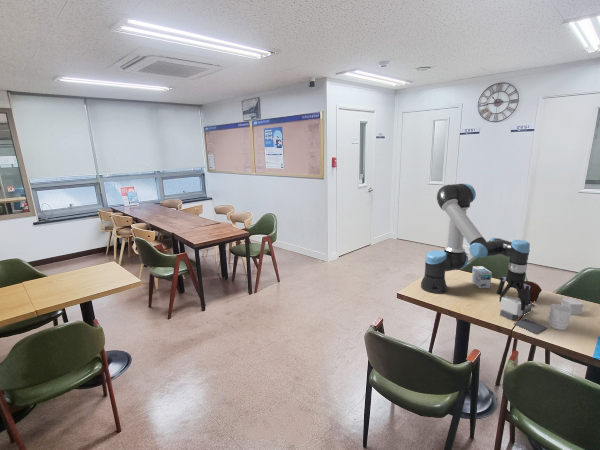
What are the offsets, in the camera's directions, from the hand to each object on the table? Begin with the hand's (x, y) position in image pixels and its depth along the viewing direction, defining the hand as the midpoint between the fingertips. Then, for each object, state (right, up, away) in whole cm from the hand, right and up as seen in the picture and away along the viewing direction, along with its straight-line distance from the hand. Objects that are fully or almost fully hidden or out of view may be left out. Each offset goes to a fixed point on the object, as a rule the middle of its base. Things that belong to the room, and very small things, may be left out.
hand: (510, 311), depth 165 cm
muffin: (+22, +2, +19) cm, 29 cm away
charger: (0, -1, 0) cm, 1 cm away
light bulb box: (+6, +7, +38) cm, 39 cm away
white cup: (+16, -5, -10) cm, 20 cm away
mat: (+3, -5, -9) cm, 11 cm away
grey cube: (+34, -1, +3) cm, 34 cm away
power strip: (+8, -1, +5) cm, 9 cm away
